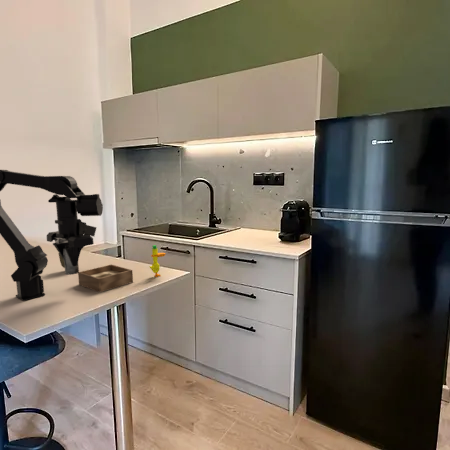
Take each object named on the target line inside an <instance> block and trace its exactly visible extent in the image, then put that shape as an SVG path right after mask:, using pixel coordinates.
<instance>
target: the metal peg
mask: <svg viewBox="0 0 450 450" xmlns="http://www.w3.org/2000/svg"><path fill="white" fill-rule="evenodd" d="M63 253H64V265H65V268H64V274H65V275H69V276H71V275H75V274H77V275H78V273H79V272H80V268H79V262H78V263H77V266H73V265H72V263H71V261H70V259H69V256H68V254H67V252H66V249H65V248H64V249H63Z"/></svg>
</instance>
